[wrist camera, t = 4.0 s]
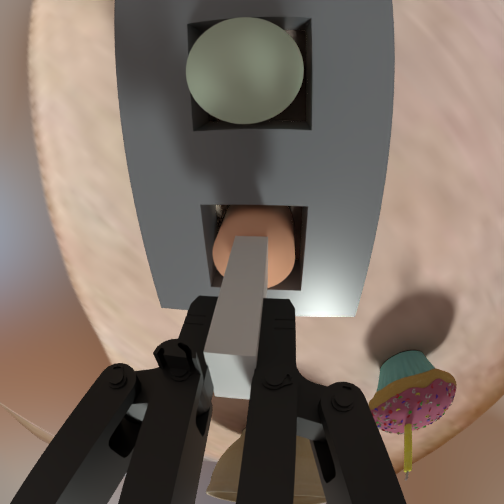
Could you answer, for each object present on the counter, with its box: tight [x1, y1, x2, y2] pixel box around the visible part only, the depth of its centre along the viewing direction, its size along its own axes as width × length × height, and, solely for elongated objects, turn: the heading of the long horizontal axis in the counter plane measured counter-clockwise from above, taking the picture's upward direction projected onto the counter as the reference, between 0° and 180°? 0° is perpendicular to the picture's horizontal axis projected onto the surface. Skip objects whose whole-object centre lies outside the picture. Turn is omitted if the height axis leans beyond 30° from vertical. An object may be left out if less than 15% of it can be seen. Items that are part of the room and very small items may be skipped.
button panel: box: [114, 0, 395, 317], centre depth 11 cm, size 26×12×3 cm, turn 2°
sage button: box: [186, 17, 304, 124], centre depth 10 cm, size 4×4×4 cm
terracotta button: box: [213, 205, 295, 288], centre depth 15 cm, size 4×4×4 cm
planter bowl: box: [206, 428, 326, 504], centre depth 30 cm, size 16×16×11 cm
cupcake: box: [369, 350, 456, 480], centre depth 19 cm, size 9×8×12 cm
